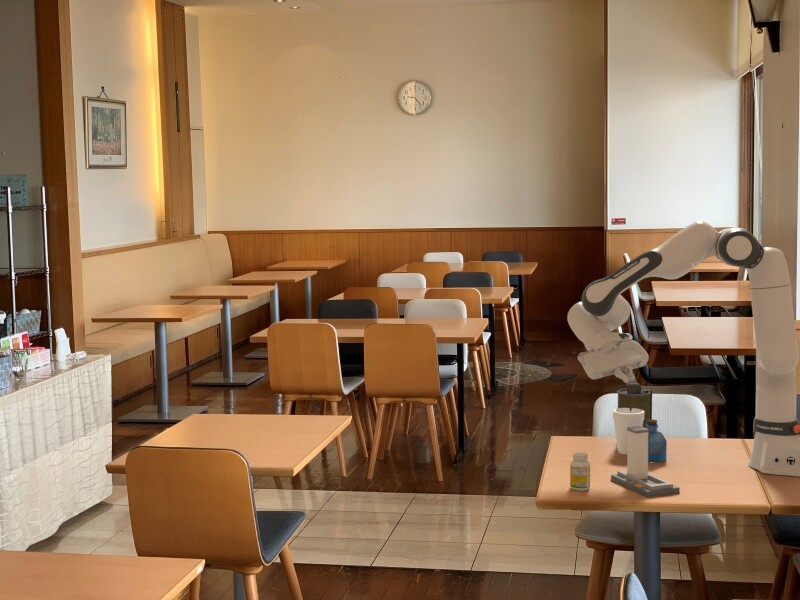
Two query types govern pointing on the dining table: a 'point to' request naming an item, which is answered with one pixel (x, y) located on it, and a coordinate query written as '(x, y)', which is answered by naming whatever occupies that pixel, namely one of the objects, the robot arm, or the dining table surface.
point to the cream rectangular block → (637, 452)
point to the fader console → (645, 484)
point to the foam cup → (626, 425)
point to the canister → (636, 400)
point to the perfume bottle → (655, 443)
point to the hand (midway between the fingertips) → (630, 380)
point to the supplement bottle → (580, 472)
